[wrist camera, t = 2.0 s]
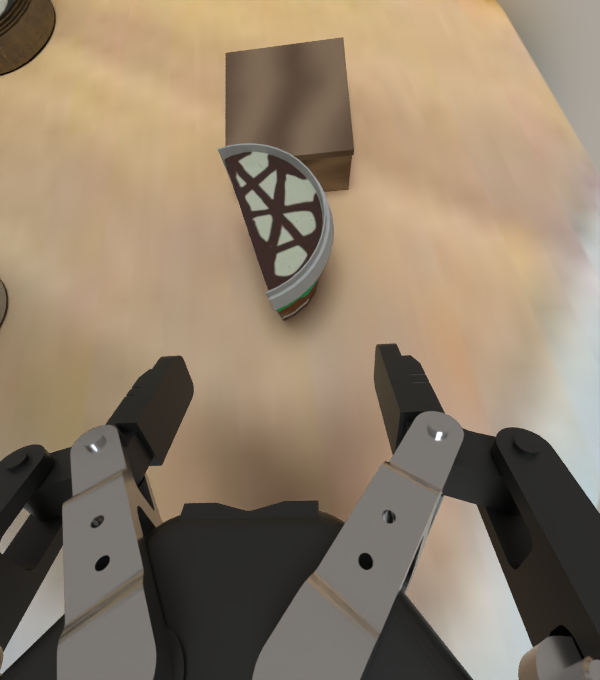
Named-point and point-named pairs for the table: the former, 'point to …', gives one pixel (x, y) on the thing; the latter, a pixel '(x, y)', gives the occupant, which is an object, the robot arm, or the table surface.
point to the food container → (282, 220)
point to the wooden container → (23, 30)
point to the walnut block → (294, 105)
